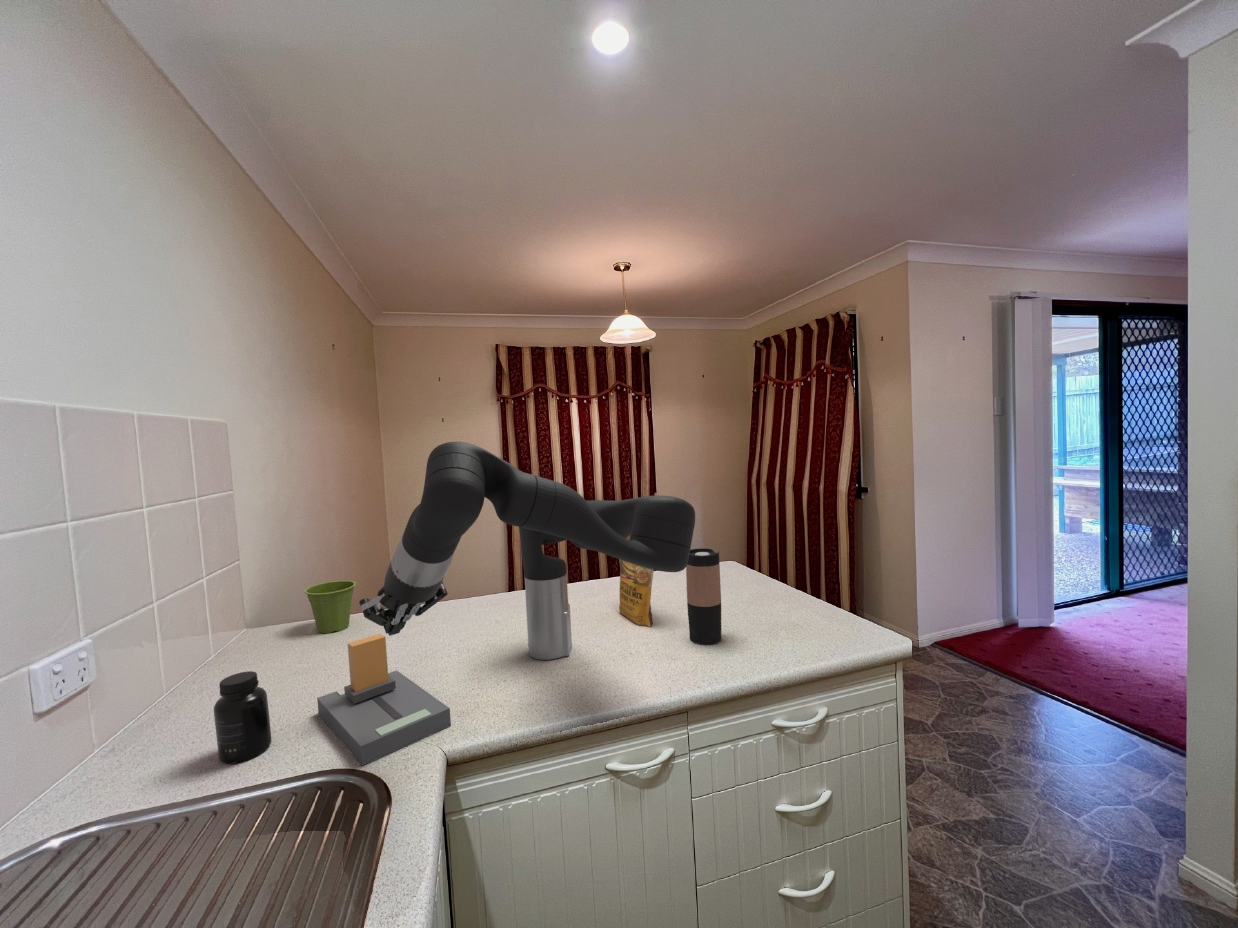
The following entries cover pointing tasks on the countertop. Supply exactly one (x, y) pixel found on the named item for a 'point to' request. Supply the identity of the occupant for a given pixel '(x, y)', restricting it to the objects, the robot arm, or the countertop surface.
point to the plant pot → (331, 604)
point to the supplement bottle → (241, 718)
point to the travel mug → (704, 596)
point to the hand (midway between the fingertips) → (392, 629)
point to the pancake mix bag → (635, 592)
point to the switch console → (384, 719)
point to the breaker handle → (368, 669)
